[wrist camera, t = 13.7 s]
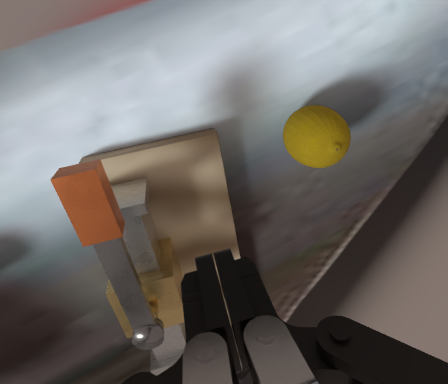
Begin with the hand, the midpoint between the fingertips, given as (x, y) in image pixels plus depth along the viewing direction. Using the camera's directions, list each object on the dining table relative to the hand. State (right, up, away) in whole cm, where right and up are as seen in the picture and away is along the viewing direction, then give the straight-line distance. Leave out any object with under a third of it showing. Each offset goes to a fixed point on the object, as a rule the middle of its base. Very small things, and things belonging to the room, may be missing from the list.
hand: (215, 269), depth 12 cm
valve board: (-5, -3, +23) cm, 24 cm away
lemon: (+8, +10, +20) cm, 24 cm away
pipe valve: (-8, -5, +21) cm, 23 cm away
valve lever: (-8, -2, +11) cm, 13 cm away
